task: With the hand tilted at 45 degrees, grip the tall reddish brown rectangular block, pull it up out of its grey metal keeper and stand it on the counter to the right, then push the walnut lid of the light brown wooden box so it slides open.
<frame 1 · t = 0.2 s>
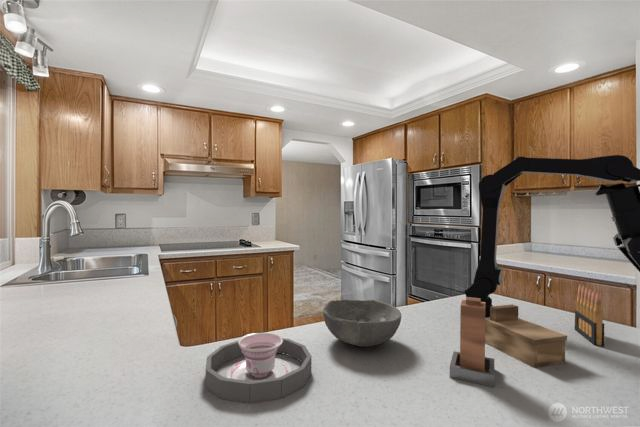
light brown wooden box: (520, 351, 71), on the countertop
teacup: (259, 375, 61), resting in coaster ring
coaster ring: (259, 372, 61), on the countertop
keeper: (472, 373, 61), on the countertop
lid: (521, 321, 71), point 6 cm above the countertop, slide at 0.0 cm
ammunition clip: (588, 338, 79), on the countertop
bowl: (361, 343, 76), on the countertop
reddish brown rectangular block: (472, 336, 61), in the keeper
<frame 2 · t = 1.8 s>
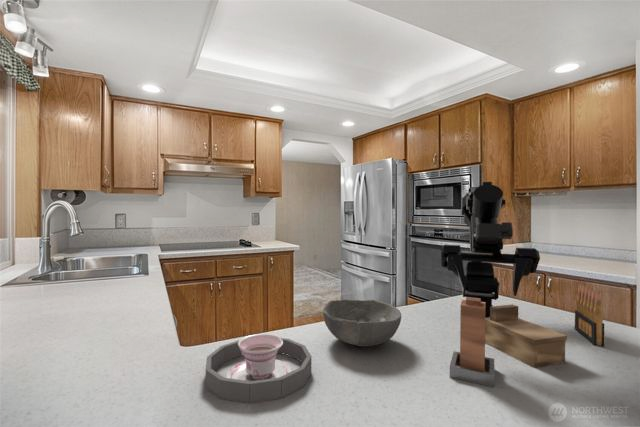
hand: (489, 292, 67), 14 cm above the countertop, tool tilted 40°, fingers open, 9 cm apart
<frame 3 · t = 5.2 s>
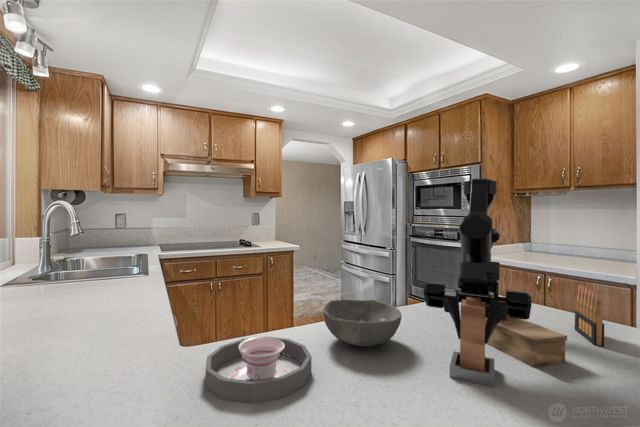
hand: (472, 340, 60), 7 cm above the countertop, tool tilted 45°, fingers closed on reddish brown rectangular block, 4 cm apart
teacup: (260, 381, 59), resting in coaster ring
reddish brown rectangular block: (472, 336, 61), in the keeper, touching gripper
everything else where it was.
when the fingers open (7 cm above the countertop, at t = 8.0 s): reddish brown rectangular block stays where it is, on the countertop.
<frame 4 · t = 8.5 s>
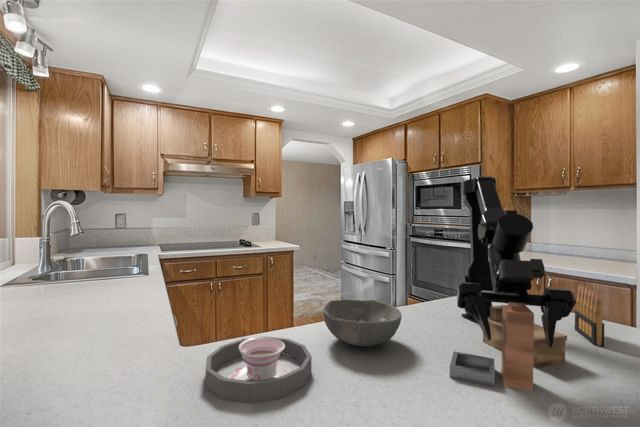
hand: (519, 342, 57), 8 cm above the countertop, tool tilted 45°, fingers open, 9 cm apart
reddish brown rectangular block: (517, 343, 58), on the countertop
everything else where it was.
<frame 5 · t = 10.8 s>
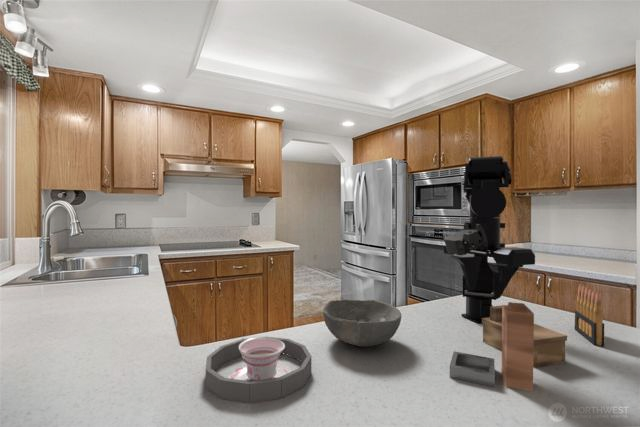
hand: (483, 293, 68), 13 cm above the countertop, tool pointing down, fingers open, 7 cm apart
nothing on the countertop moved.
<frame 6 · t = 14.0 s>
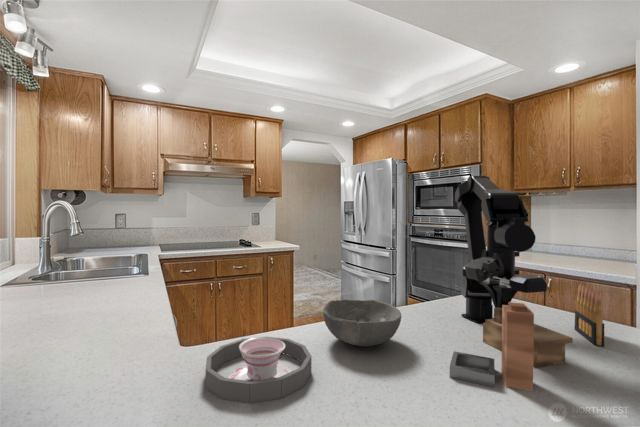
hand: (500, 314, 76), 6 cm above the countertop, tool pointing down, fingers closed
lid: (525, 323, 70), point 6 cm above the countertop, slide at 1.1 cm, touching gripper
everything else where it was.
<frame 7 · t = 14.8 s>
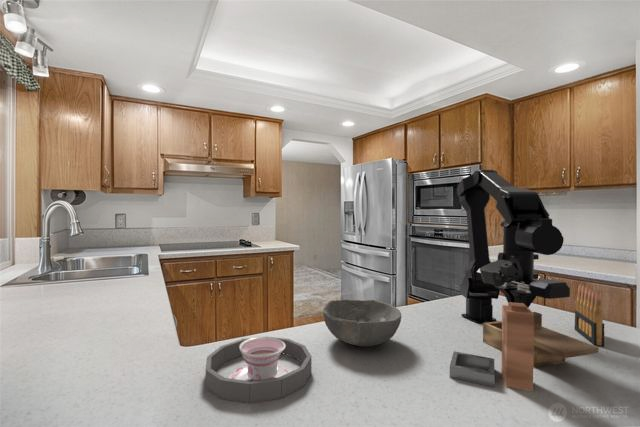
hand: (517, 320, 72), 6 cm above the countertop, tool pointing down, fingers closed
lid: (546, 331, 65), point 6 cm above the countertop, slide at 5.8 cm, touching gripper
everything else where it was.
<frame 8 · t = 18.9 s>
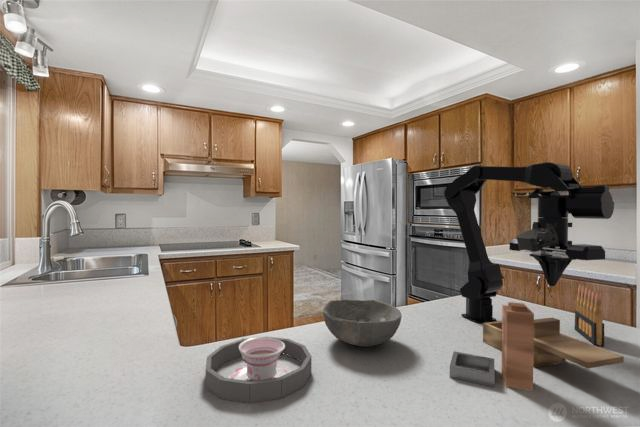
hand: (551, 285, 76), 13 cm above the countertop, tool pointing down, fingers closed
lid: (566, 338, 62), point 6 cm above the countertop, slide at 9.7 cm
everything else where it was.
at the end: reddish brown rectangular block inside the target area (0.5 cm from its centre), on the countertop; reddish brown rectangular block touching countertop; lid slide at 9.7 cm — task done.
